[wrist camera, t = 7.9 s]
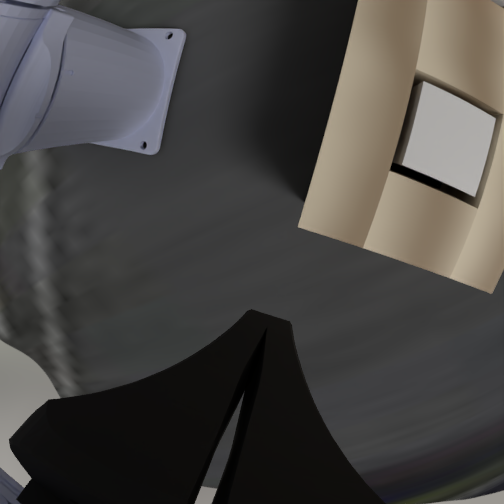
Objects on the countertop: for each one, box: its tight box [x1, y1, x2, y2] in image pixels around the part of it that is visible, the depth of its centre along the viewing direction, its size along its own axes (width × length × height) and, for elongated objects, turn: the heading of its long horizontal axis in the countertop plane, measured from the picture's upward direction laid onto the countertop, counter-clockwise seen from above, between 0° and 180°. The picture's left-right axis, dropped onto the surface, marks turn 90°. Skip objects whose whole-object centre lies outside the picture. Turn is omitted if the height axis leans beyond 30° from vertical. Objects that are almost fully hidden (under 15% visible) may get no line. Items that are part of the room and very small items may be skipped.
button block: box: [298, 0, 504, 294], centre depth 10 cm, size 10×21×5 cm, turn 167°
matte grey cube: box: [392, 81, 496, 197], centre depth 12 cm, size 4×4×5 cm
